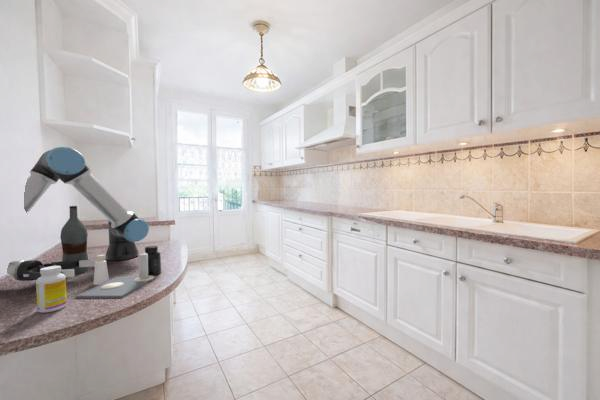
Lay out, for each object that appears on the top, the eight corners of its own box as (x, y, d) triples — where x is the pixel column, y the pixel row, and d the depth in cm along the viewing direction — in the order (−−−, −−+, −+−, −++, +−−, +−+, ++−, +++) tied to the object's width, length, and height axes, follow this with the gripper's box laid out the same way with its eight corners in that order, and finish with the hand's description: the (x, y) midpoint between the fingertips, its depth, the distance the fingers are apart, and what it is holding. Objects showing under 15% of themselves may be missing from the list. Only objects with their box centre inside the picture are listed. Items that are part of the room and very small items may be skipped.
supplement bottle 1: (72, 304, 83) (71, 264, 83) (52, 313, 77) (50, 271, 76) (52, 303, 83) (51, 264, 83) (30, 313, 77) (28, 270, 76)
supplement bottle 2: (159, 270, 119) (159, 244, 118) (162, 274, 113) (161, 246, 113) (142, 273, 114) (141, 246, 114) (144, 277, 109) (143, 249, 109)
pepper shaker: (96, 285, 99) (95, 257, 99) (90, 283, 102) (89, 256, 102) (112, 281, 104) (111, 254, 104) (105, 279, 107) (104, 253, 106)
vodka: (58, 276, 111) (55, 206, 110) (66, 270, 119) (63, 205, 119) (85, 273, 115) (83, 206, 114) (91, 267, 124) (89, 205, 123)
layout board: (118, 277, 108) (117, 252, 108) (157, 277, 108) (156, 252, 108) (75, 298, 88) (74, 266, 88) (123, 297, 88) (122, 266, 87)
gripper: (50, 270, 111) (105, 267, 114) (-10, 293, 86) (62, 288, 89) (50, 253, 110) (104, 251, 114) (-11, 270, 86) (61, 267, 89)
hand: (86, 267), depth 101 cm, fingers open, 13 cm apart
